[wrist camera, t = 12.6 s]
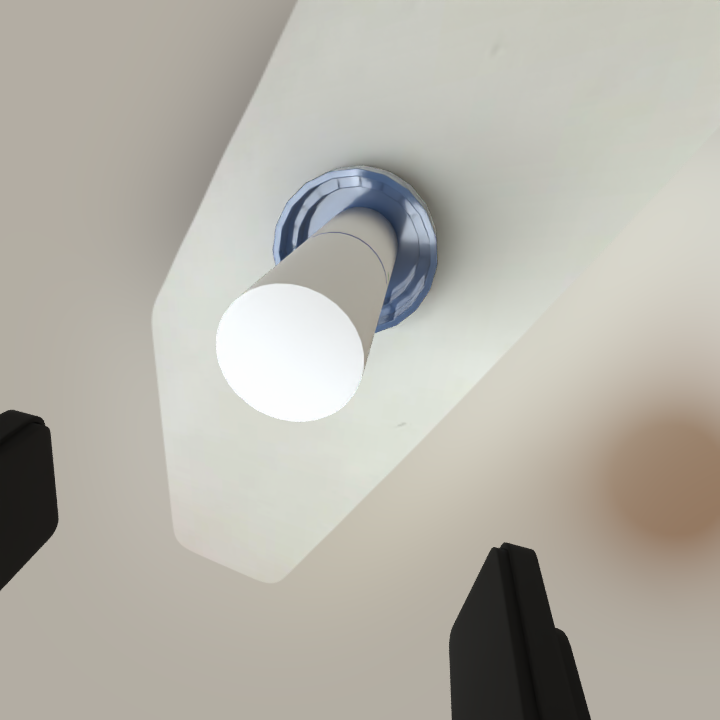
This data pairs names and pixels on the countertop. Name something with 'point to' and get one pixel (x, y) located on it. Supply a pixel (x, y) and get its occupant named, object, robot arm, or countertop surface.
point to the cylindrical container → (310, 320)
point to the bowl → (390, 200)
